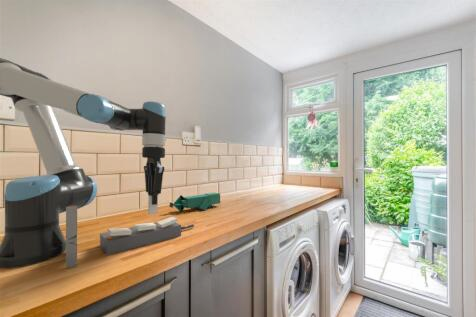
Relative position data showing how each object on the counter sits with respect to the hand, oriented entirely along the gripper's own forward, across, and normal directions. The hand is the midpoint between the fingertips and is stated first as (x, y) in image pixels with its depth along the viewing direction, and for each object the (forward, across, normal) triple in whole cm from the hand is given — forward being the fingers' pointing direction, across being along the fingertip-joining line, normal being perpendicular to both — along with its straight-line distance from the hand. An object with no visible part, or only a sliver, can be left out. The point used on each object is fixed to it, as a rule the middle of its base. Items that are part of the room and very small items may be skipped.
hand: (152, 213), depth 76 cm
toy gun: (+10, +1, +23) cm, 25 cm away
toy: (+10, +31, -37) cm, 49 cm away
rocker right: (+4, 0, -5) cm, 7 cm away
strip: (+9, +2, -2) cm, 10 cm away
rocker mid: (+4, 0, +3) cm, 5 cm away
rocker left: (+5, 0, +11) cm, 12 cm away
